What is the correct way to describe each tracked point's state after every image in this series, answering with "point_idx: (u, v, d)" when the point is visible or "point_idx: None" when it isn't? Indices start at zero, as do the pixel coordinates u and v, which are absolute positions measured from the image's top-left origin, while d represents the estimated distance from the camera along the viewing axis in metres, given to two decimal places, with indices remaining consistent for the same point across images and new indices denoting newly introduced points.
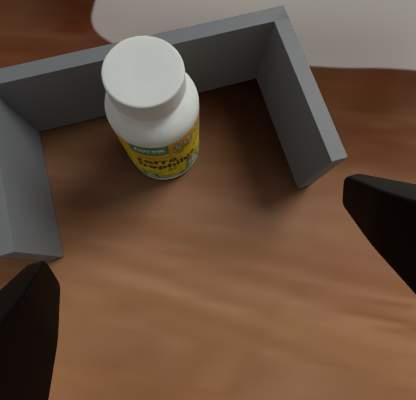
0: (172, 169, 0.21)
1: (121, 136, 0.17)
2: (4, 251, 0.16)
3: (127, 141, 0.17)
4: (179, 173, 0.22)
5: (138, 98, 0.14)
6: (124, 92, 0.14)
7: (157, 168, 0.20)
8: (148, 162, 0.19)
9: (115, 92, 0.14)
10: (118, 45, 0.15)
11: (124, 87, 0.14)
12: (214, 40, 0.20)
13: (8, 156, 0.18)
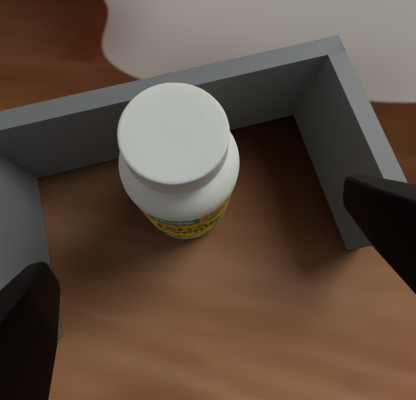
0: (198, 232, 0.17)
1: (139, 206, 0.13)
2: None
3: (147, 212, 0.13)
4: (205, 233, 0.18)
5: (167, 170, 0.10)
6: (148, 162, 0.10)
7: (179, 232, 0.16)
8: (171, 228, 0.15)
9: (136, 162, 0.10)
10: (140, 96, 0.11)
11: (148, 155, 0.10)
12: (253, 77, 0.16)
13: None
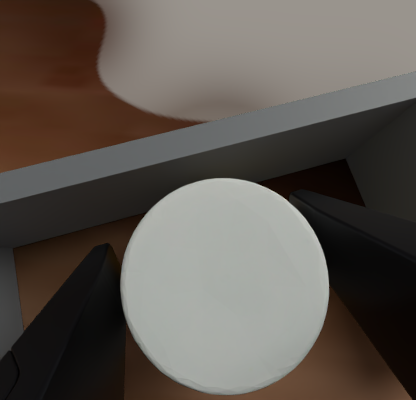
0: None
1: None
2: None
3: None
4: None
5: (218, 366, 0.05)
6: (181, 347, 0.05)
7: None
8: None
9: (157, 347, 0.05)
10: (163, 206, 0.06)
11: (180, 330, 0.05)
12: (315, 128, 0.11)
13: None
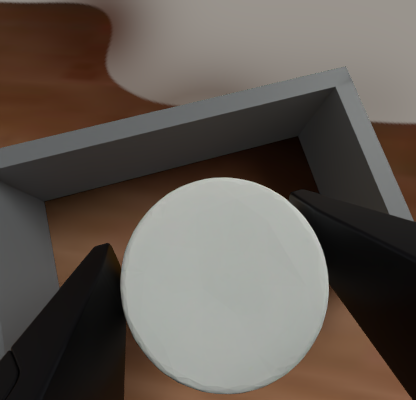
0: None
1: None
2: None
3: None
4: None
5: (218, 365, 0.05)
6: (181, 347, 0.05)
7: None
8: None
9: (157, 346, 0.05)
10: (163, 206, 0.06)
11: (180, 329, 0.05)
12: (261, 109, 0.16)
13: (6, 260, 0.14)
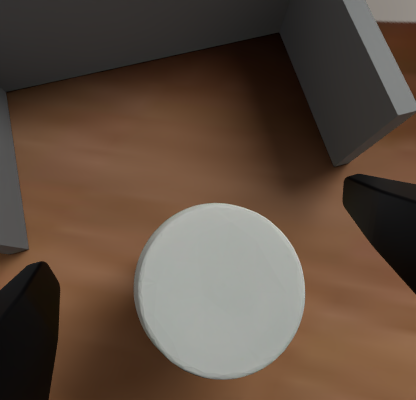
0: None
1: None
2: None
3: None
4: None
5: (216, 356, 0.07)
6: (186, 342, 0.07)
7: None
8: None
9: (168, 342, 0.07)
10: (171, 228, 0.07)
11: (186, 328, 0.07)
12: None
13: None
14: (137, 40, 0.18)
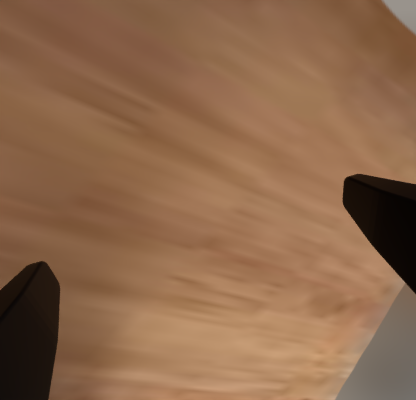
0: None
1: None
2: None
3: None
4: None
5: None
6: None
7: None
8: None
9: None
10: None
11: None
12: None
13: None
14: None
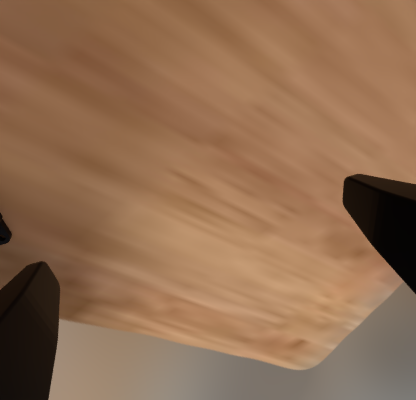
0: None
1: None
2: None
3: None
4: None
5: None
6: None
7: None
8: None
9: None
10: None
11: None
12: None
13: None
14: None
